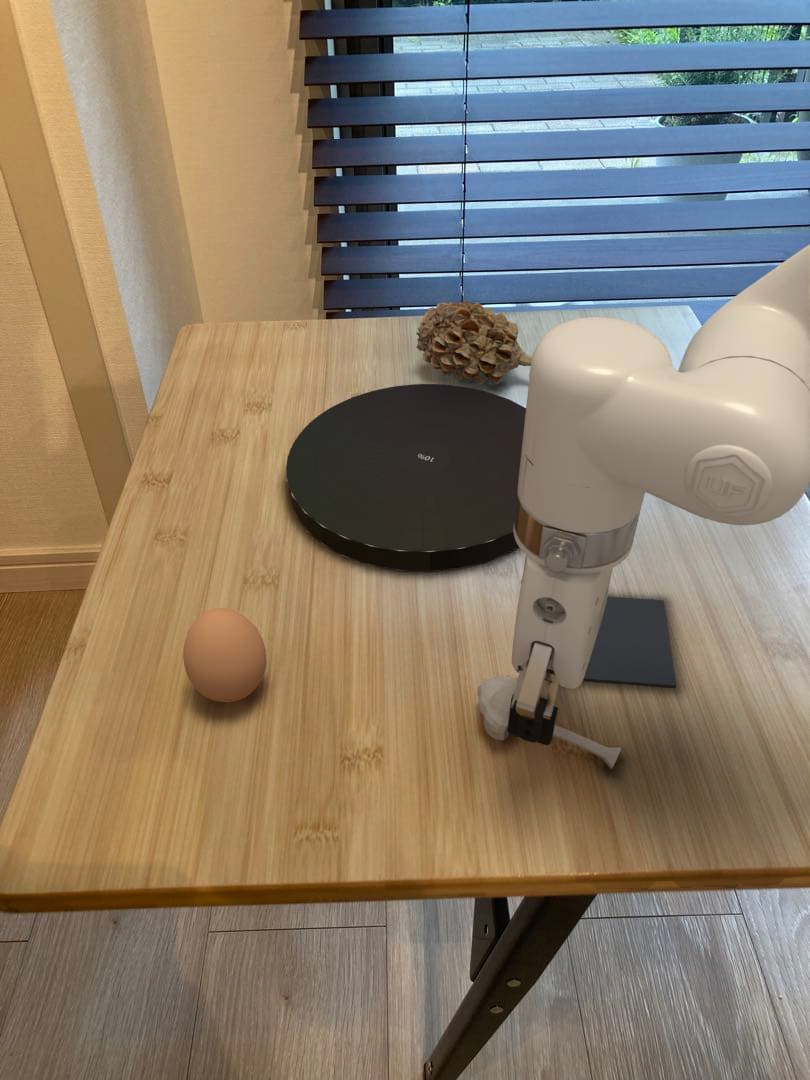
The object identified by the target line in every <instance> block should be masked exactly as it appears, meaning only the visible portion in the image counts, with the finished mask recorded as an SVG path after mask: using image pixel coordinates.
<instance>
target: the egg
mask: <svg viewBox="0 0 810 1080" xmlns="http://www.w3.org/2000/svg"><path fill="white" fill-rule="evenodd" d="M182 654H183V655H182V657H183V664H184V669H185V673H186V675H187V678H188V680H189V681H190V683H191V685H192V686H193V687H194V688H195V689H196V690H197V692H198V693H200V694H201V695H202V696H204V697H206V699H210V700H212V701H215V702H218V703H234V702H237V701H240V700H243V699H245V698H247V697H248V696H249V695H251V694H252V693H253V691H255V690H256V689H257V688H258V687H259V685H260V683H261V682H262V680H263V678H264V676H265V672H266V669H267V650H266V646H265V642H264V639H263V637H262V635H261V633H260V631H259V629H258V628H257V627H256V625H254V624H253V622H251V621H250V620H249V618H247V616H245V615H243V614H242V613H240V612H238V611H237V610H234V609H232V608H228V607H217V608H212V609H209V610H206V611H205V612H203V613H201V614H200V615H199V616H198V617H196V619H195V620H194V621H193V623H191V626H190V627H189V629H188V631H187V633H186V637H185V640H184V644H183V651H182Z"/></svg>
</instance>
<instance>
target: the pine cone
mask: <svg viewBox="0 0 810 1080" xmlns="http://www.w3.org/2000/svg"><path fill="white" fill-rule="evenodd" d="M421 320H422V321H421V322H420V323H419V327H417V332H415V334H416V335H417V336H418V338H416V340H417V344H416V349H418V351H420V352H423V353H422V360H423V361H424V362H427V363H428V364H431V368H432V369H434V370H436V371H440V372H441V373H442V376H451V377H452V379H453V381H461V380H462V379H464V381H465V382H466V383H469V382H471V381H473V380H475V382H476V384H478V385H481V384H485V383H486V382H487V381H489V382H490V383H491V384H492V385H494V386H496V385H497V386H498V384H500V383H501V381H502V380H503V378H504V376H505V375H506V374H508V373H509V372H511V371H513V370H515V369H517V368H519V366H522V367H531V362H532V356H533V355H528V354H526V351H524V350H523V348H522V347H521V346H520V344H519V343H518V335H519V326H518V324H517V323H515V322H512V321H510V320H508V319H507V317H506V316H505V315H504V314H503V313H502V312H501V313H497V314H496V313H495V311H494V310H493V309H492V308H491V307H488V308H484V306H483V305H482V304H481V303H480V302H479V301H478V302H476V303H472V302H471V301H470V300H463V301H462V302H459V303H457V302H456V301H449V303H448V302H447V303H446V302H444V301H442V302H439V303H437V304H436V308H435V306H433V307H429V308H428V310H427V311H426V312H425V313H424V316H423V317H422V319H421Z"/></svg>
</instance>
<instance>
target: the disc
mask: <svg viewBox="0 0 810 1080" xmlns="http://www.w3.org/2000/svg"><path fill="white" fill-rule="evenodd" d="M525 414H526V407H524V406H523V405H521V404H519V403H517V402H515V401H513V400H511V399H509V398H506V397H503V396H501V395H498V394H496V393H493V392H491V391H486V390H483V389H482V390H481V389H479V388H474V387H469V386H462V385H454V384H444V383H414V384H404V385H395V386H389V387H384V388H379V389H374V390H370V391H368V392H364V393H361V394H358V395H355V396H353V397H349V398H347V399H345V400H343V401H341V402H339V403H336V404H335V405H333V406H331V407H329V408H327V409H326V410H325V411H323V412H322V413H320V414H319V415H317V416H316V417H314V418H313V419H312V420H311V421H309V423H308V424H307V425H306V426H305V427H304V428H303V429H301V431H300V432H299V433H298V435H297V437H296V438H295V440H294V441H293V442H292V445H291V446H290V448H289V452H288V455H287V458H286V461H285V468H286V469H285V470H286V471H285V475H286V476H285V477H286V482H287V485H288V491H289V492H288V493H289V500H290V503H291V506H292V508H293V511H294V514H295V517H296V518H297V520H299V522H300V523H301V525H302V526H303V527H304V529H305V530H306V531H307V532H308V533H309V534H310V535H311V536H312V537H314V539H316V540H317V541H318V542H319V543H321V544H322V545H323V546H324V547H326V548H329V549H330V550H331V551H334V552H336V553H338V554H340V555H341V556H343V557H345V558H348V559H350V560H354V561H357V562H360V563H363V564H365V565H368V566H372V567H377V568H384V569H390V570H396V571H403V572H404V571H405V572H437V571H445V570H446V571H447V570H455V569H456V570H457V569H462V568H466V567H471V566H474V565H478V564H482V563H485V562H489V561H492V560H494V559H496V558H498V557H501V556H503V555H506V554H508V553H510V552H513V551H515V550H516V549H517V548H520V547H519V546H518V544H517V542H516V540H515V537H514V532H513V528H514V518H515V508H516V499H517V489H518V481H519V471H520V462H521V452H522V443H523V433H524V424H525Z"/></svg>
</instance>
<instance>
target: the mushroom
mask: <svg viewBox="0 0 810 1080" xmlns="http://www.w3.org/2000/svg"><path fill="white" fill-rule="evenodd" d="M517 680H518V676H517V677H511V676H509V675H499V676H495V677H492V678H485V679H484V680H482V682H480V684H479V685H478V687H477V692H476V693H477V694H476V695H477V698H478V703H477V706H478V710H479V712H480V714H481V716H482V718H483V727H484V730H485V732H486V733H487V734H488V735H489V737H491V738H493V739H494V740H496V741H505V740H506V739H507V738H508V737H509V736H510V735H511V734H510V733H509V732H508V731H507V728H508V720H509V712H510V705H511V698H512V696H513V694H514V692H515V688H516V684H517ZM553 737H554V738H557V739H560V740H563V741H566V742H567V743H570V744H572V745H574V746H576V747H579V748H580V749H582V750H584V751H587V752H589V753H591V754H593V755H595V756H597V757H598V758H600V759H602V760H603V761H604V763H605V764H606V765H607V766H608V768H609V769H610V770H612V769H613V768H614V766H615V764H616V762H617V760H618V758H619V755H620V753H621V750H622V747H607V746H605V745H603V744H600V743H599V742H596V741H594V740H591V739H589V738H587V737H585V736H583V735H580V734H579V733H576V732H573V731H572V730H569V729H566V728H563V727H560V726H559V725H556V724H555V727H554V732H553Z"/></svg>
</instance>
